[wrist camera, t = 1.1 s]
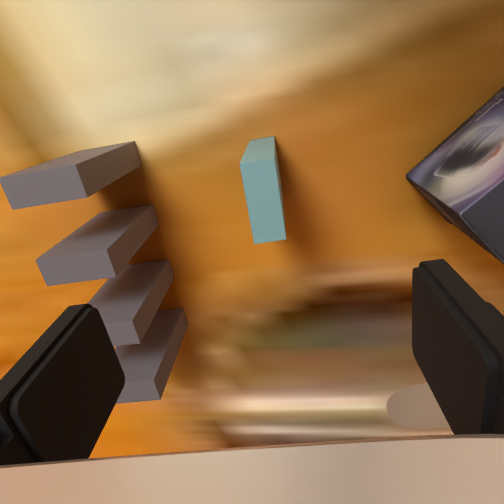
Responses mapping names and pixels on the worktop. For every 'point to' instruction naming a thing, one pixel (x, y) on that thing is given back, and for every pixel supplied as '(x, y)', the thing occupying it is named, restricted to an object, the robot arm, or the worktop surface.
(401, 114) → the worktop surface
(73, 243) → the domino
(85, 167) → the domino
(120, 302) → the domino
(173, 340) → the domino
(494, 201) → the small box
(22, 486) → the robot arm
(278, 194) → the domino
